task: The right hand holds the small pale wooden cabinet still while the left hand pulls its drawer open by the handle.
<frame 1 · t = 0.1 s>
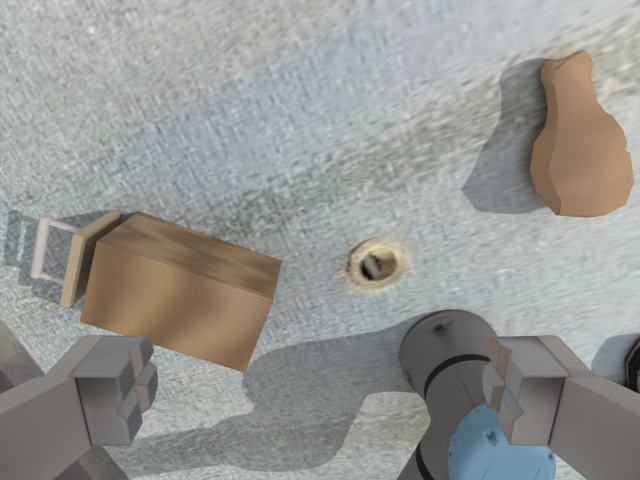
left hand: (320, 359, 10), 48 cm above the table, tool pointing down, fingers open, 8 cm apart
drawer: (141, 272, 56), point 6 cm above the table, slide at 1.9 cm
squash: (558, 136, 55), on the table
cabinet: (201, 270, 62), on the table
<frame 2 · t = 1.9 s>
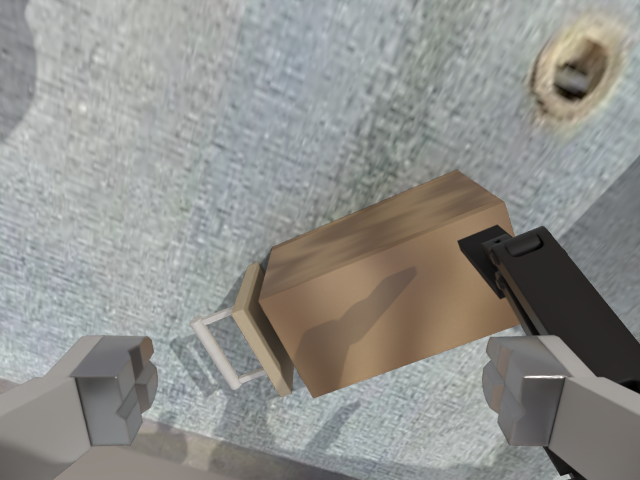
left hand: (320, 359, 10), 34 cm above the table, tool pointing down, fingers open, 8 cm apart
drawer: (327, 302, 42), point 6 cm above the table, slide at 1.9 cm
cabinet: (380, 253, 47), on the table
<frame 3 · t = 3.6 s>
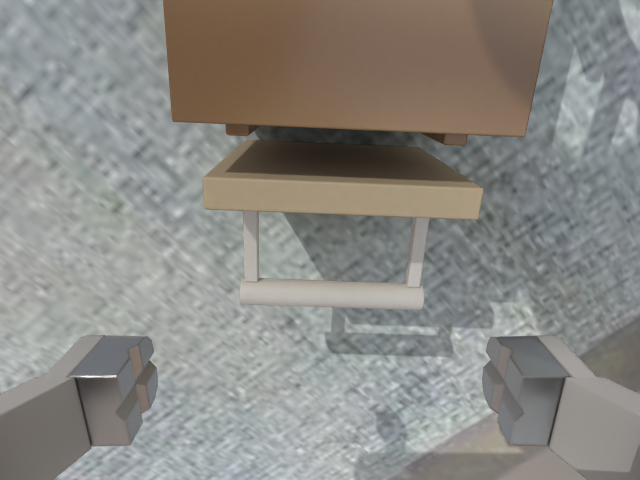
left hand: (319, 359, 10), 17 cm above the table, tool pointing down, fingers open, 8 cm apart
drawer: (345, 14, 17), point 6 cm above the table, slide at 1.9 cm
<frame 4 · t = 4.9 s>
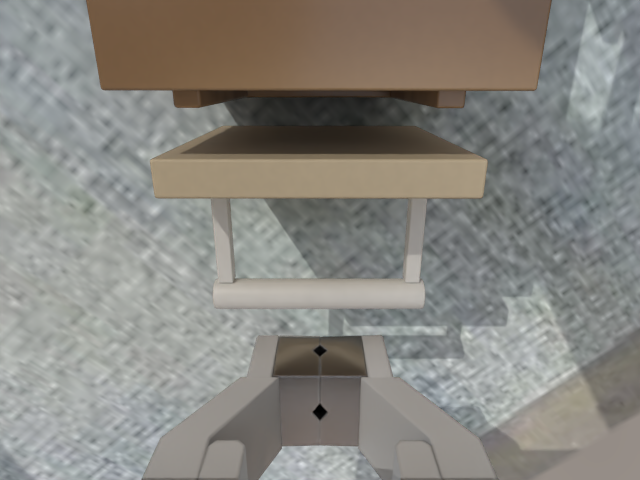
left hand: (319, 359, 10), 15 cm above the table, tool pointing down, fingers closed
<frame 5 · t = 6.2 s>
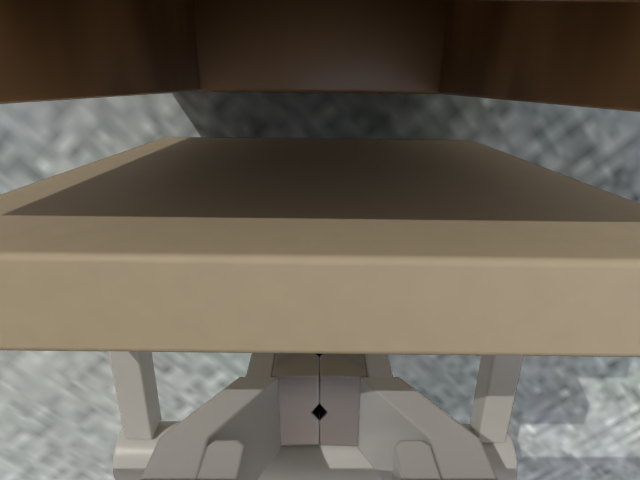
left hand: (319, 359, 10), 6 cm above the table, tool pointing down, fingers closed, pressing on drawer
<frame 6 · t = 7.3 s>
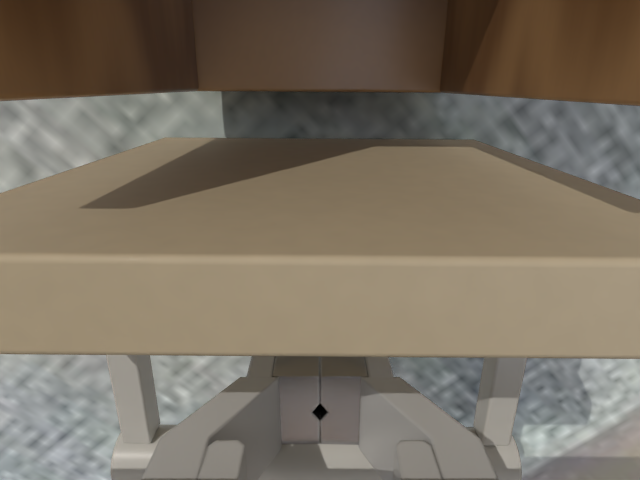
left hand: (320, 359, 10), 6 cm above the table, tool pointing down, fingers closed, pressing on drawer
when the right hand's fingers open (7 cm above the table, at t = 9.1 s): cabinet stays where it is, on the table.
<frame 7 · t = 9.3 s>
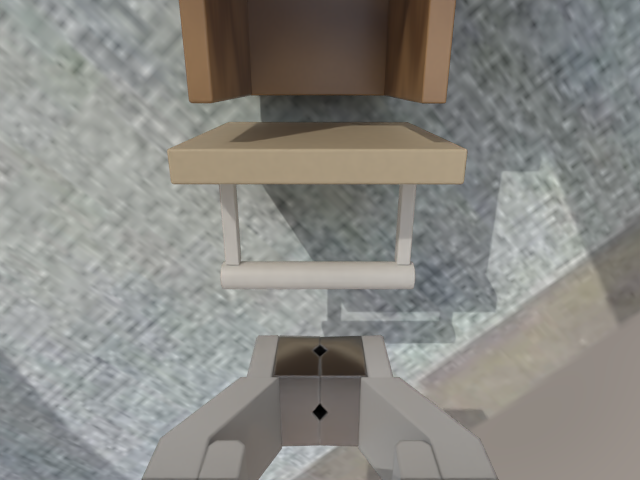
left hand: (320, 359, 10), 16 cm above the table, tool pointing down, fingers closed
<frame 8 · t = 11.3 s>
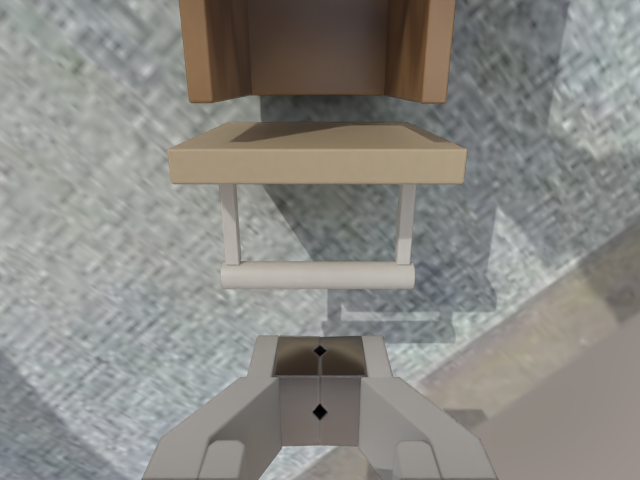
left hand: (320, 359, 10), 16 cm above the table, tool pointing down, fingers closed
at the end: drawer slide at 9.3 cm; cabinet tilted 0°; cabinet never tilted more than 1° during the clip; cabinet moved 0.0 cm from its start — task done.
